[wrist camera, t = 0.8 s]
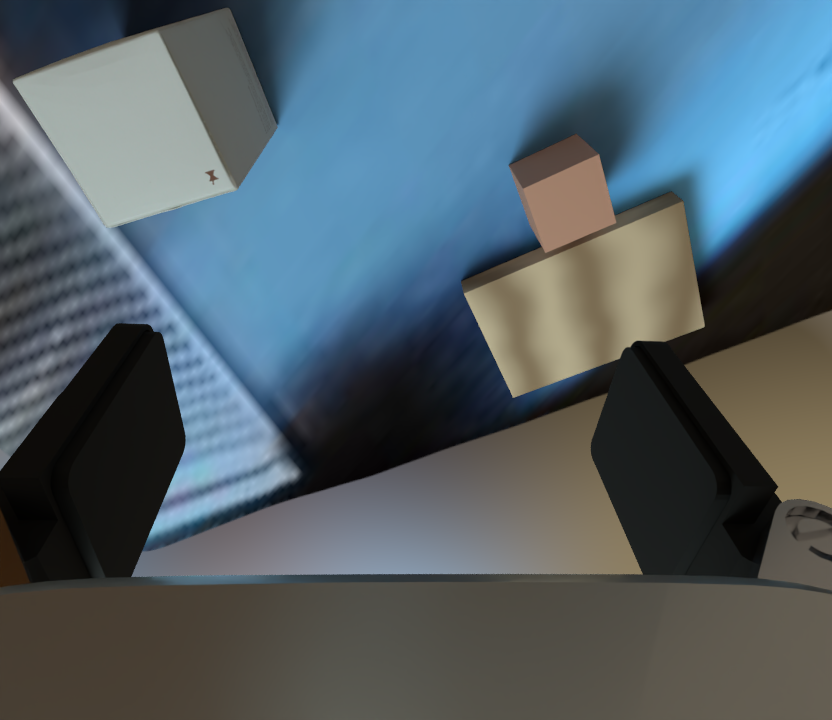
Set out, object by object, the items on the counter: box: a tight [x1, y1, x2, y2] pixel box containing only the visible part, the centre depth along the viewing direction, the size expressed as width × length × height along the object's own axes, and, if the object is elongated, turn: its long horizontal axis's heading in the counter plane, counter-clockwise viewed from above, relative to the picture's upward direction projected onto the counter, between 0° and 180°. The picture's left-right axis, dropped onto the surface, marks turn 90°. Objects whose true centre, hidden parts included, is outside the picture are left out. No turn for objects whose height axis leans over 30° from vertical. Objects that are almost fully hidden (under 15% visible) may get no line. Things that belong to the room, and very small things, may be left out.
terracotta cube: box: [509, 134, 616, 253], centre depth 38 cm, size 5×5×5 cm
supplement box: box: [13, 8, 278, 228], centre depth 30 cm, size 7×7×13 cm
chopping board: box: [461, 191, 705, 398], centre depth 45 cm, size 17×12×2 cm
